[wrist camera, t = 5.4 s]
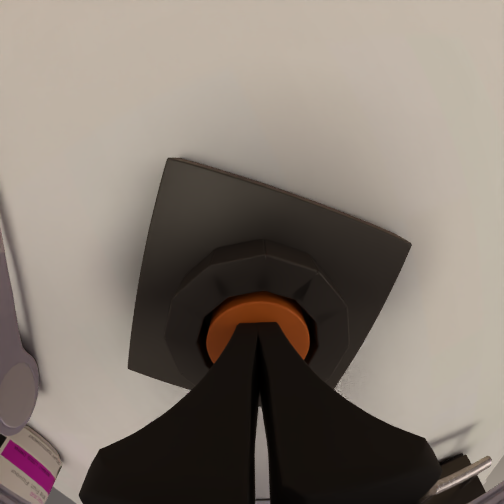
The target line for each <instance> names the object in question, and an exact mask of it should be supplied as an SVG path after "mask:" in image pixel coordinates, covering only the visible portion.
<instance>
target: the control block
mask: <svg viewBox="0 0 504 504" xmlns="http://www.w3.org/2000/svg"><path fill="white" fill-rule="evenodd" d="M411 246H412V244H411V243H410V242H408V241H407V240H405V239H403V238H402V237H400V236H398V235H396V234H395V233H392V232H390V231H388V230H385V229H383V228H381V227H378V226H376V225H374V224H371V223H369V222H366V221H364V220H361V219H359V218H356V217H354V216H351V215H349V214H346V213H344V212H341V211H339V210H336V209H334V208H331V207H328V206H326V205H323V204H320V203H318V202H315V201H312V200H310V199H307V198H304V197H301V196H299V195H296V194H293V193H290V192H287V191H284V190H282V189H279V188H276V187H273V186H270V185H267V184H264V183H261V182H258V181H255V180H252V179H249V178H246V177H242V176H239V175H236V174H233V173H230V172H226V171H223V170H220V169H217V168H213V167H210V166H206V165H203V164H200V163H196V162H193V161H189V160H185V159H182V158H168V159H167V161H166V165H165V168H164V172H163V175H162V179H161V183H160V186H159V190H158V194H157V198H156V202H155V206H154V210H153V214H152V219H151V223H150V227H149V232H148V236H147V241H146V246H145V251H144V256H143V261H142V266H141V272H140V277H139V283H138V289H137V295H136V302H135V309H134V316H133V323H132V331H131V339H130V349H129V359H128V369H130V370H132V371H135V372H138V373H141V374H143V375H146V376H149V377H152V378H155V379H158V380H161V381H164V382H167V383H170V384H173V385H176V386H179V387H183V388H186V389H190V390H192V389H193V388H194V387H195V386H196V385H197V384H198V383H199V381H200V380H201V379H202V378H203V377H204V376H205V375H206V373H207V372H208V371H209V369H210V368H211V367H212V366H213V364H214V363H213V362H212V360H211V358H210V356H209V354H208V351H207V345H206V339H207V334H208V329H209V325H210V321H211V317H212V313H213V309H215V308H216V307H217V306H218V305H220V304H221V303H222V302H223V301H225V300H226V299H227V298H228V297H232V296H238V295H243V294H249V293H254V292H260V291H266V292H269V293H273V294H276V295H280V296H283V297H287V298H290V299H294V300H295V301H296V302H297V303H298V304H299V305H300V307H301V309H302V313H303V316H304V319H305V322H306V325H307V328H308V332H309V336H310V344H309V349H308V353H307V355H306V357H305V359H304V361H305V362H306V363H307V364H308V366H309V367H310V368H311V369H312V370H313V371H314V372H315V373H316V374H317V375H318V376H319V377H320V378H321V379H322V380H323V381H324V382H325V383H327V384H328V385H329V386H330V387H331V388H332V389H334V388H335V386H336V385H337V383H338V382H339V380H340V379H341V377H342V376H343V374H344V373H345V371H346V370H347V368H348V366H349V365H350V363H351V362H352V360H353V358H354V357H355V355H356V354H357V352H358V350H359V349H360V347H361V345H362V343H363V342H364V340H365V338H366V337H367V335H368V333H369V331H370V329H371V328H372V326H373V324H374V322H375V320H376V319H377V317H378V315H379V313H380V311H381V309H382V307H383V305H384V303H385V301H386V300H387V298H388V296H389V294H390V292H391V290H392V287H393V285H394V283H395V281H396V279H397V277H398V275H399V273H400V271H401V268H402V266H403V264H404V262H405V259H406V257H407V255H408V253H409V250H410V248H411ZM258 407H262V406H261V399H260V392H259V404H258Z"/></svg>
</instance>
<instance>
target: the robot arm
mask: <svg viewBox="0 0 504 504" xmlns="http://www.w3.org/2000/svg"><path fill="white" fill-rule="evenodd" d="M259 392H260V399H261V406H262V412H263V419H264V426H265V432H266V439H267V446H268V459H269V484H270V500H266V501H255V438H256V427H257V416H258V404H259ZM441 474H442V468H441V466H440V464H439V462H438V460H437V458H436V456H435V454H434V452H433V450H432V448H431V447H430V446H429V444H428V442H427V441H426V439H425V438H423V437H420V436H418V435H415V434H412V433H410V432H407V431H404V430H402V429H399V428H397V427H394V426H392V425H390V424H388V423H386V422H384V421H382V420H380V419H378V418H376V417H374V416H372V415H370V414H368V413H367V412H365V411H363V410H362V409H360V408H359V407H357V406H356V405H354V404H353V403H351V402H350V401H348V400H346V399H345V398H344V397H342V396H341V395H340V394H339V393H337V392H336V391H335V390H334V389H332V388H331V387H330V386H329V385H328V384H327V383H325V382H324V381H323V380H322V379H321V378H320V377H319V376H318V375H317V374H316V373H315V372H314V371H313V370H312V369H311V368H310V367H309V366H308V364H307V363H306V362H305V361H304V360H303V359H302V357H301V356H300V355H299V354H298V352H297V351H296V350H295V349H294V347H293V346H292V345H291V343H290V342H289V340H288V339H287V337H286V336H285V334H284V333H283V331H282V329H281V328H280V326H279V324H278V323H277V322H258V323H239V324H238V325H237V326H236V328H235V331H234V333H233V335H232V337H231V339H230V340H229V342H228V344H227V345H226V347H225V349H224V350H223V352H222V353H221V355H220V356H219V358H218V359H217V360H216V362H215V363H214V364H213V366H212V367H211V368H210V369H209V371H208V372H207V373H206V375H205V376H204V377H203V378H202V379H201V380H200V381H199V383H198V384H197V385H196V386H195V387H194V388H193V389H192V390H191V391H190V392H189V393H188V394H187V395H186V396H185V397H183V398H182V399H181V400H180V401H179V402H178V403H177V404H175V405H174V406H173V407H172V408H171V409H169V410H168V411H167V412H166V413H164V414H163V415H162V416H160V417H159V418H157V419H156V420H154V421H153V422H151V423H150V424H148V425H147V426H145V427H144V428H142V429H140V430H139V431H137V432H135V433H134V434H132V435H130V436H128V437H126V438H124V439H122V440H120V441H117V442H115V443H113V444H111V445H109V446H107V447H104V448H102V449H100V450H99V451H98V453H97V455H96V457H95V458H94V460H93V462H92V464H91V466H90V468H89V470H88V473H87V475H86V478H85V480H84V483H83V485H82V488H81V490H80V493H79V497H80V499H81V501H82V503H83V504H420V503H419V500H420V499H421V498H422V497H423V496H424V495H425V494H426V493H427V492H428V491H429V490H430V489H431V488H432V487H433V486H434V485H435V484H436V483H437V481H438V480H439V478H440V476H441ZM0 504H32V503H31V502H29V501H27V500H26V499H24V498H22V497H21V496H19V495H17V494H16V493H14V492H13V491H11V490H9V489H8V488H6V487H5V486H3V485H2V484H1V483H0ZM468 504H504V481H503V482H501V483H500V484H498V485H497V486H495V487H494V488H492V489H491V490H489V491H488V492H486V493H484V494H483V495H481V496H479V497H478V498H476V499H474V500H473V501H471V502H469V503H468Z"/></svg>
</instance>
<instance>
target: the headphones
mask: <svg viewBox="0 0 504 504" xmlns="http://www.w3.org/2000/svg"><path fill="white" fill-rule="evenodd" d="M38 386H39V371H38V367H37V364H36V362H35V360H34V358H33V357H32V356H31V355H30V354H28V353H27V352H26V351H25V350H24V348H23V347H22V343H21V338H20V334H19V328H18V323H17V317H16V311H15V305H14V299H13V292H12V287H11V283H10V278H9V273H8V268H7V262H6V257H5V250H4V244H3V239H2V234H1V229H0V433H1V434H2V435H4V436H12V435H15V434H17V433H19V432H20V431H21V430H22V429H23V428H24V427H25V425H26V424H27V422H28V421H29V419H30V417H31V415H32V412H33V410H34V407H35V404H36V400H37V396H38Z"/></svg>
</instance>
